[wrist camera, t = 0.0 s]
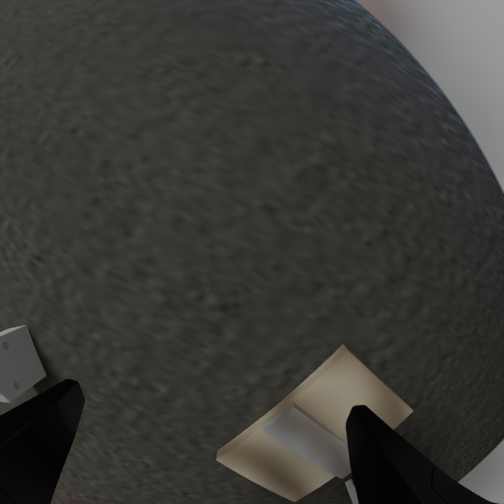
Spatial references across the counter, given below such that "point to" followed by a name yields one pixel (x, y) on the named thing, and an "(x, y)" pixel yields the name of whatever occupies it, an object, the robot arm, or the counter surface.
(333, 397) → the board
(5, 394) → the white angled block
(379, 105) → the counter surface
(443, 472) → the robot arm
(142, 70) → the counter surface
